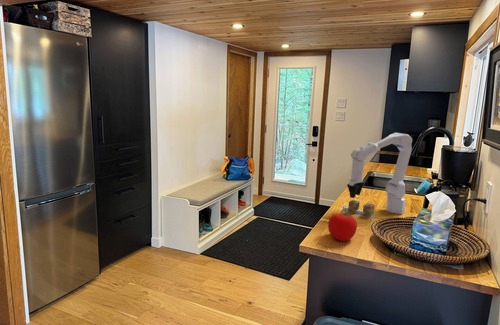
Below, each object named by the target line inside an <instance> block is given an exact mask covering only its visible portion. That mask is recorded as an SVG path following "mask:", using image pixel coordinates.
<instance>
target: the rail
mask: <svg viewBox="0 0 500 325" xmlns="http://www.w3.org/2000/svg"><path fill="white" fill-rule="evenodd" d="M340 212H341V213H344V214H345V213H346V214H352V213H348V206H347V204H344V205H343V206H342V210H341V211H340ZM352 215H354V216H357V217H362V218H367V219H370V220H371V219H373V217H375V216H376V215H375V214H374V215H373V213H371V218H369V217H365V216H363V209H362V210H361V209H359V210H358V209H356V214H352Z"/></svg>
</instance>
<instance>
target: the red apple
mask: <svg viewBox="0 0 500 325" xmlns="http://www.w3.org/2000/svg"><path fill="white" fill-rule="evenodd" d="M352 215H353V214H349V213H345V212H344V213H342V212H341V213H334V214H332V215H331V216H330V217H329V220H328V222H327V226H328V227H327V228H328V232H329V233H330V235H331V236H332V238H334V239H335V240H337V241H341V242H345V241H346V242H347V241H349V240H351V239H352V238H354V236H355V234H356V233H357V229H358V223H357V220H356V219H355V217H354V216H352Z"/></svg>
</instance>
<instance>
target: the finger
mask: <svg viewBox="0 0 500 325" xmlns="http://www.w3.org/2000/svg"><path fill="white" fill-rule="evenodd" d="M362 211H363V216H365V217H364V218H366V217H369V218H368V219H370V218H371V213H373V215H375V204H373V203H369V202H366V203H365V204H363V208H362ZM371 219H372V218H371Z"/></svg>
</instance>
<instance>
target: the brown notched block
mask: <svg viewBox="0 0 500 325" xmlns="http://www.w3.org/2000/svg"><path fill="white" fill-rule="evenodd" d="M347 207H348V213H347V214H349V213H352V215H353V214H356V209H358V210H360V201H359V200H354V199H350V200H349V201H348V206H347Z"/></svg>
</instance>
